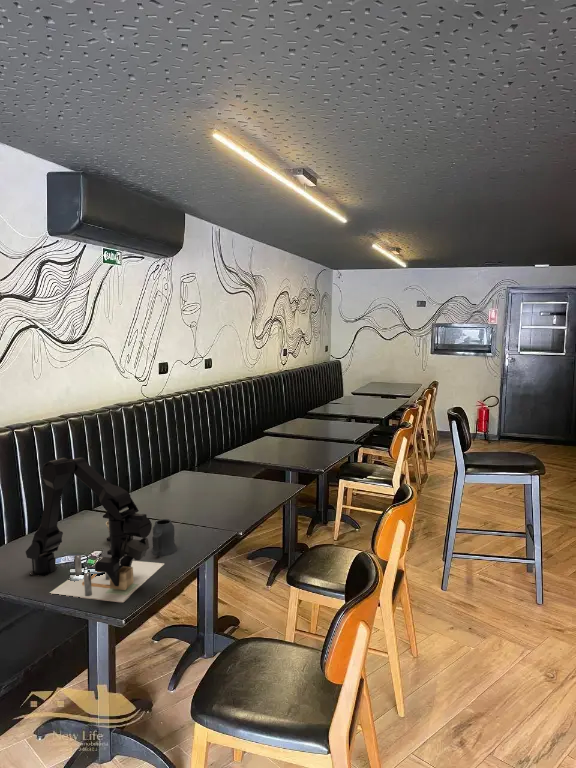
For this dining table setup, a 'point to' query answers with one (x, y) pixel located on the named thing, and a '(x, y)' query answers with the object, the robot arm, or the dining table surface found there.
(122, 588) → the oak open box
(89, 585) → the wire and posts
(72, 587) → the course mat
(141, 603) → the dining table surface
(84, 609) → the dining table surface
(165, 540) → the dark grey holder
